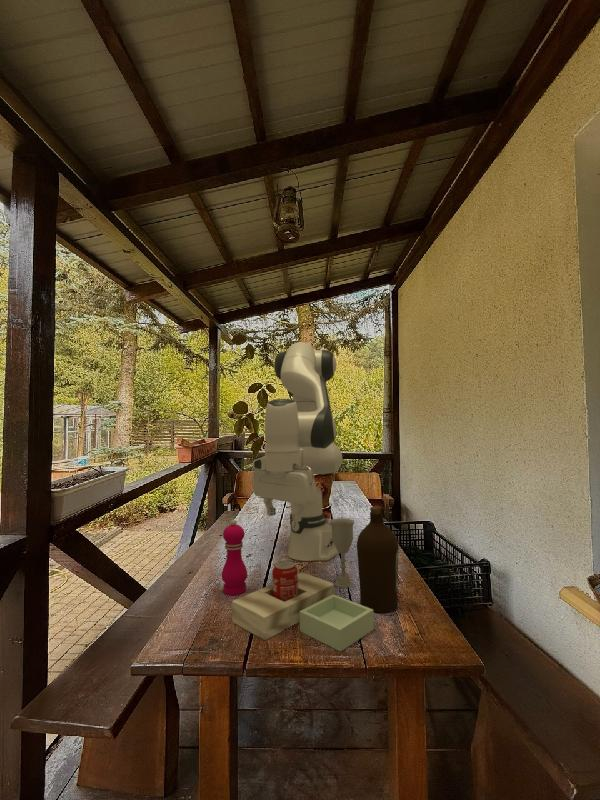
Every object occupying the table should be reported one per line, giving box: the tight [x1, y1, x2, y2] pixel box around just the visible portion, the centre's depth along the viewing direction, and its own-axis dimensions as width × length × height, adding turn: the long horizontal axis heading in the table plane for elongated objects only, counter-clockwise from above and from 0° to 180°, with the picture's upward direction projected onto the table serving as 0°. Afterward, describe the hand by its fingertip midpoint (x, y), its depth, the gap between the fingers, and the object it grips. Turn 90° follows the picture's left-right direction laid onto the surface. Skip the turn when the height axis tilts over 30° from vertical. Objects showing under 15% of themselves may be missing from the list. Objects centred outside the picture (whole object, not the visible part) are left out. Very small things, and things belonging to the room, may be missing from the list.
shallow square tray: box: [299, 594, 375, 652], centre depth 97 cm, size 12×12×4 cm
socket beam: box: [231, 572, 336, 641], centre depth 106 cm, size 24×12×5 cm, turn 135°
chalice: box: [329, 517, 355, 589], centre depth 122 cm, size 7×7×18 cm
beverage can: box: [271, 560, 299, 602], centre depth 106 cm, size 6×6×12 cm
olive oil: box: [356, 505, 399, 614], centre depth 109 cm, size 11×11×25 cm
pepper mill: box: [221, 519, 248, 596], centre depth 119 cm, size 7×7×20 cm
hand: (283, 518), depth 106 cm, fingers open, 8 cm apart
